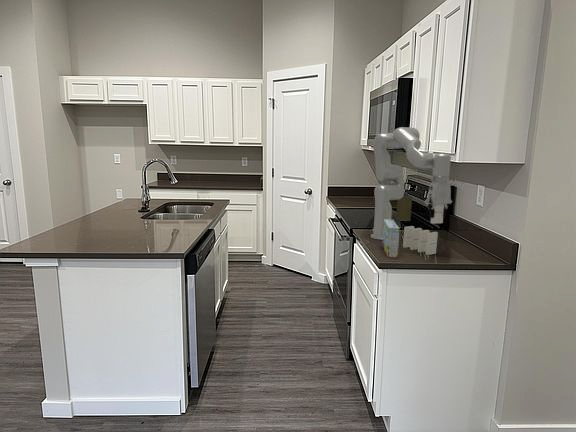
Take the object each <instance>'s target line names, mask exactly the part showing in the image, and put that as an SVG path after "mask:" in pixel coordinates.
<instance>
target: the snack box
mask: <svg viewBox="0 0 576 432" xmlns="http://www.w3.org/2000/svg"><path fill="white" fill-rule="evenodd" d="M399 242H400V227H399V225H397V223H396V222H395V219H392V218H391V219H384V223H383V240H382V249H383V250H384V253H385V255H386V258H398V257H399V246H400V245H399V244H400V243H399Z"/></svg>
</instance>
